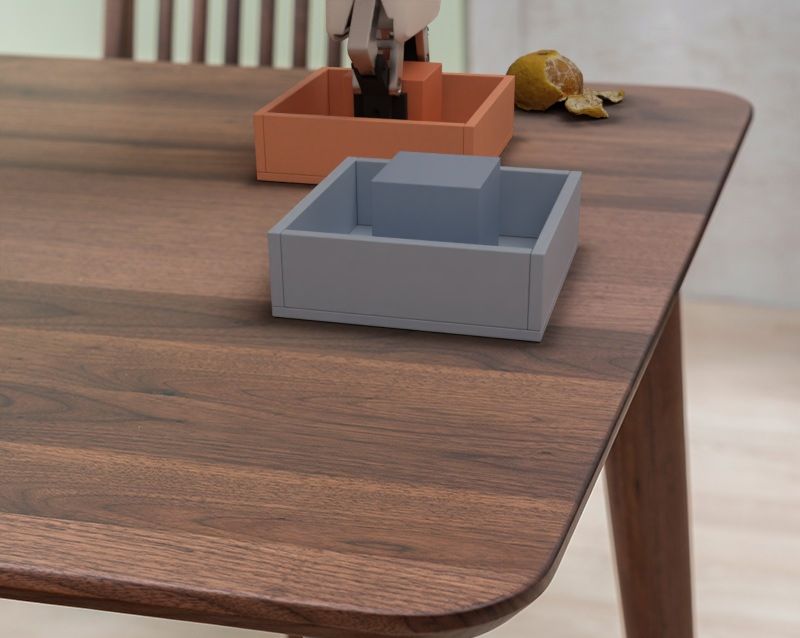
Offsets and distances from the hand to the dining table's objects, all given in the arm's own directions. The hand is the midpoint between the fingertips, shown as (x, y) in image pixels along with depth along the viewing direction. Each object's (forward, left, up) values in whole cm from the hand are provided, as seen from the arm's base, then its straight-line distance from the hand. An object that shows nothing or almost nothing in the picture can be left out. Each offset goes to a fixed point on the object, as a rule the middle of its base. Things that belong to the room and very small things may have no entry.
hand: (393, 142), depth 79 cm
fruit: (+9, +15, -1) cm, 17 cm away
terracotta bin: (0, 0, -1) cm, 1 cm away
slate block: (+7, -20, 0) cm, 21 cm away
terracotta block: (0, 0, 0) cm, 0 cm away
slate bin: (+7, -20, -1) cm, 21 cm away
